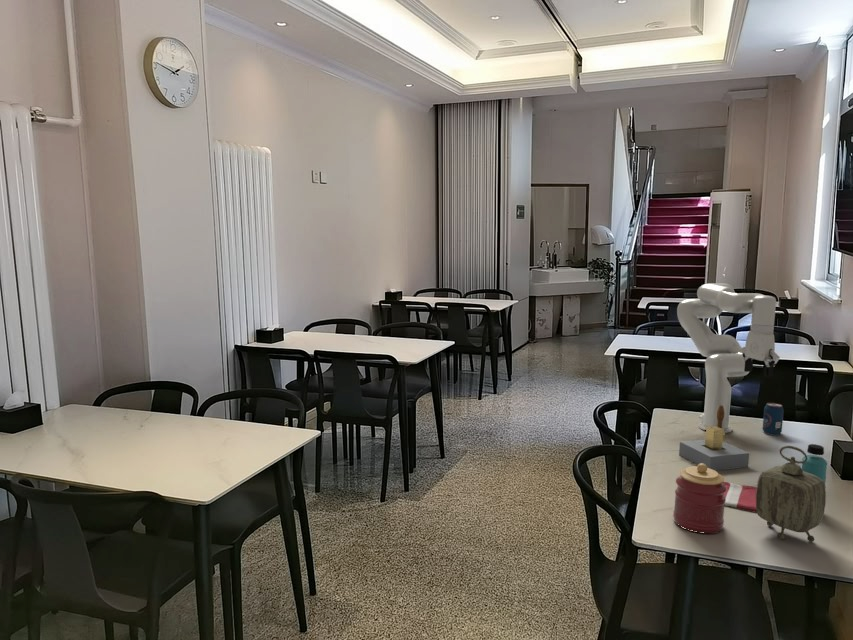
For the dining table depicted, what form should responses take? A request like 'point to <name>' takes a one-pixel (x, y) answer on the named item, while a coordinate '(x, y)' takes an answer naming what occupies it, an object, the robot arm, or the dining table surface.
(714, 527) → the canister
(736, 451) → the well block
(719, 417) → the hand bell
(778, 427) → the soda can
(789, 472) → the tabletop clock
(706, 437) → the wooden square peg
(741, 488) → the dish towel
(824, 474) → the beverage bottle
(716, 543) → the dining table surface
